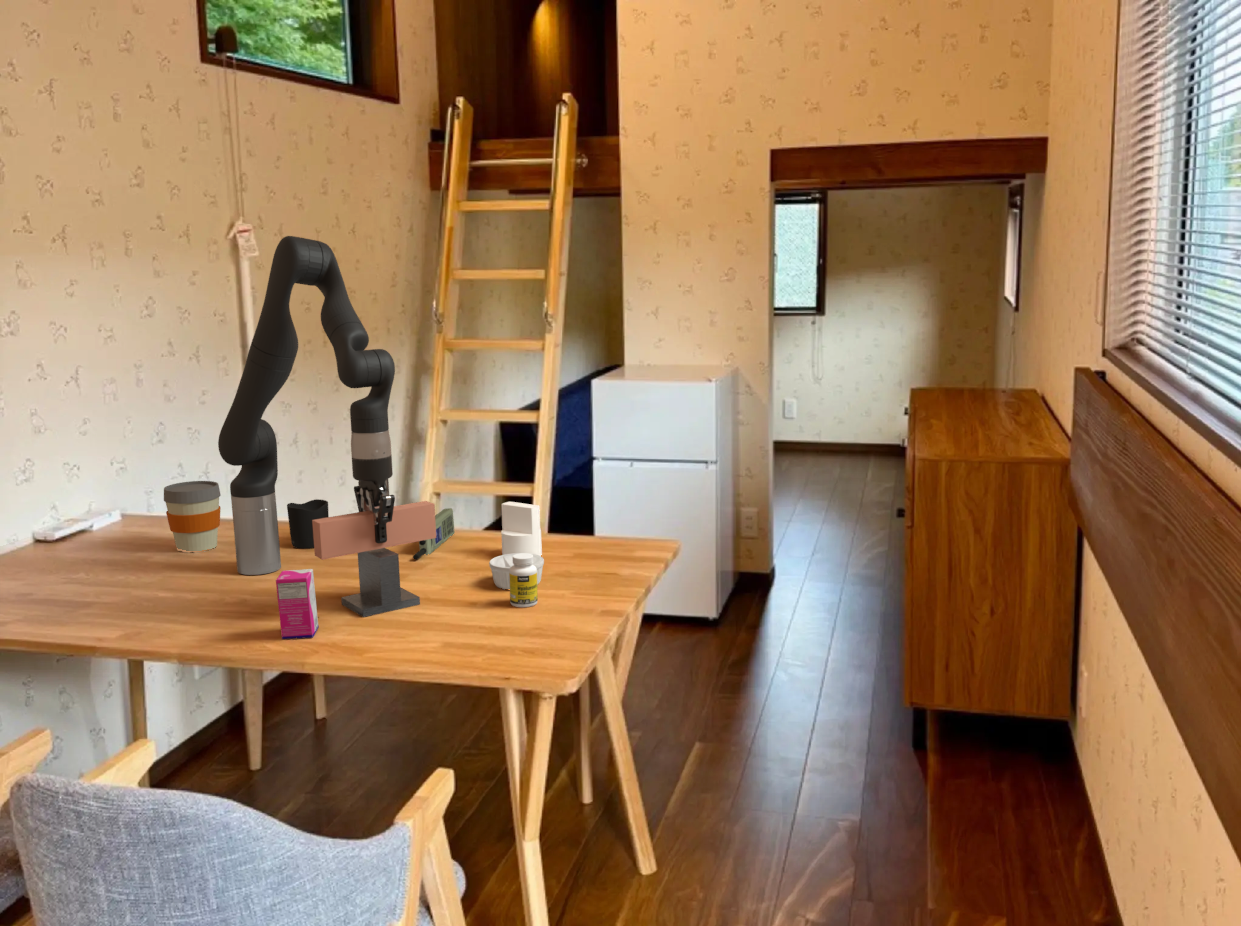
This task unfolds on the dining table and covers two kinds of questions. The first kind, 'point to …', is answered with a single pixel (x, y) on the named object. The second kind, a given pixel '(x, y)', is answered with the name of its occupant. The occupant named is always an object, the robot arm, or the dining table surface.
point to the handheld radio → (438, 533)
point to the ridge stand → (379, 585)
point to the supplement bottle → (523, 581)
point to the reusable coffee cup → (193, 514)
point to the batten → (372, 530)
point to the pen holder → (305, 521)
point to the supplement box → (297, 604)
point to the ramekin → (503, 565)
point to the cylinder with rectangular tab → (521, 528)
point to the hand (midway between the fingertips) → (376, 540)
